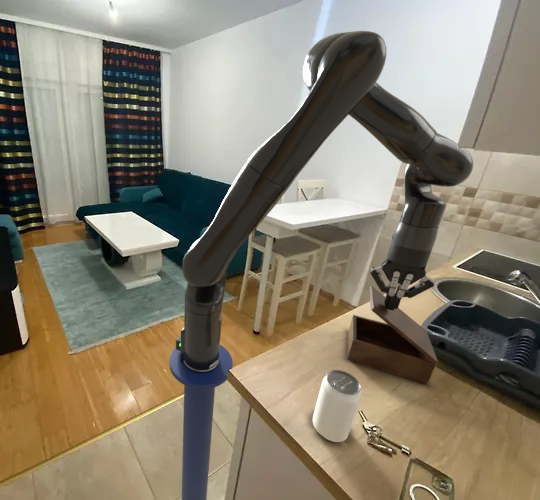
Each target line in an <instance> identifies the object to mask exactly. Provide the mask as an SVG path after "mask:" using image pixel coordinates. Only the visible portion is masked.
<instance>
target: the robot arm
mask: <svg viewBox="0 0 540 500" xmlns="http://www.w3.org/2000/svg"><path fill="white" fill-rule="evenodd" d="M386 60H387V45H386V42H385V39H384V38H383V37H382V36H381V35H380V34H379V33H377V32H375V31H370V30H354V31H345V32H338V33H333V34H330V35H327V36H324V37H323V38H322V39H320V40H318V41H317V42H316V43H315V44H314V45H313V46H311V48H310V49H309V51H308V53H307V55H306V57H305V59H304V62H303V67H302V77H303V81H304V84H305V86H306V88H307V90H309V92H308V94H307V95H306V97H305V99H304V100H303V101H302V103H301V105H300V106H299V108H298V109H297V111H296V112H295V113H294V114H293V115H292V117H291V118H290V119H289V120H288V121H287V122H286V123H285V124H284V125H283V126H281V127H280V128H279V129H278V130H276V132H275V133H273V134H272V135H271V136H270V137H269V138H267V139H266V140H265V141H264V142H262V143H261V144H260V145H259V146H258V147H257V148H256V150H254V151H253V153H252V154H251V155H250V157H248V159H247V161H246V162H245V163H244V165H243V167H242V168H241V169H240V171H239V173H238V175H237V176H236V177H235V179H234V181H233V182H232V184H231V186H230V187H229V189H228V191H227V193H226V195H225V196H224V199H223V200H222V202H221V204H220V207H219V208H218V210H217V212H216V214H215V217H214V219H213V220H212V222H211V223H210V225H209V226H208V227H207V229H206V231H205V232H204V233H203V234H202V235H201V236H200V238H198V239H197V240H195V241H194V242H193V243H192V244H191V245H190V247H189V249H188V250H187V252H186V253H185V254H184V257H183V259H182V263H181V271H182V275H183V277H184V280H185V281H186V282H187V284H186V288H185V293H184V310H183V312H184V313H183V315H184V316H183V318H184V319H183V328H182V329H181V330H180V334H179V336H178V337H177V338H176V339H175V347H176V350H179V351H180V361H182V362H183V363H184V365H185V366H186V367H187V368H188V369H189V370H191V371H193V372H196V373H208V372H211V371H213V370H214V369H216V367H217V366H218V364H219V350H220V345H221V336H222V324H223V323H222V322H223V311H224V300H225V293H226V287H227V275H228V267H229V265H230V263H231V261H232V260H233V258H234V257H235V255H236V253H237V252H238V251H239V249H240V247H241V246H242V245H243V244H244V242H245V241H246V240H247V238H249V236H250V235H251V234H252V233H253V232H254V231H255V230H257V228H258V227H259V226H260V225H261V223H262V222H263V221H264V220H265V218H266V217H267V216H268V215H269V214H270V212H271V211H272V210H273V209H274V208H275V206H276V205H277V204H278V203H279V202H280V200H281V199H282V197H284V195H285V194H286V193H287V191H288V189H290V187H291V186H292V185H293V183H294V182H295V180H296V178H297V177H298V176H299V174H300V173H301V172H302V171H303V170H304V168H305V167H306V166H307V164H308V163H309V162H310V161H311V159H312V158H313V157H314V155H316V154H317V152H318V151H319V149H320V148H321V146H322V145H323V144H324V143H325V141H326V140H327V139H328V138H329V137H330V136H331V134H333V132H335V130H336V129H337V128H338V127H339V126H340V124H342V122H344V120H345V119H346V118H347V117H348V116H350V117H351V118H352V119H353V120H354V121H356V122H357V123H358V124H360V126H362V127H363V128H364V129H365V130H366V131H367V132H368V133H369V134H371V136H373V137H374V138H375V139H376V140H377V142H379V143H380V144H381V145H382V146H383V147H384V148H385V149H386V150H387V151H388V152H389V153H390V154H392V155H393V157H394V158H396V159H397V160H398V161H400V162H401V163H404V164H406V165H405V169H404V204H403V208H402V210H401V214H400V217H399V220H398V223H397V225H396V227H395V228H394V232H393V234H392V236H391V241H390V244H389V248H388V252H387V255H386V257H385V260H384V261H383V262H382V263H381V265H380V266H377V267H374V266H372V267H370V268H369V271H370V276H371V277H372V279H373V280H374V282H375V284H376V285H377V287H378V289H379V290H380V293H385V300H384V304H385V306H386V308H387V309H389V310H393V311H394V309H397V308H399V306H400V304H401V300H402V299H403V298H408V299H412V298H414V297H416V296H418V295H420V294H422V293H424V292H425V291H427V290H430V289H432V288H434V286H435V283H434V281H433V279H432V278H431V277H429V276H427V272H426V267H427V264H428V262H429V259H430V257H431V253H432V251H433V249H434V246H435V243H436V240H437V237H438V233H439V229H440V225H441V222H442V219H443V217H444V214H445V212H446V208H447V202H446V200H445V199H444V198H441V197H439V196H437V195H435V194H434V193H433V189H432V186H438V187H443V188H450V187H456V186H458V185H461V184H462V183H464V182H465V181H466V180H468V179H469V177H470V176H471V175H472V173H473V170H474V159H473V156H472V155H471V153H470V152H469V151H468V150H467V149H466V148H465V149H462V148H457V145H458V144H459V143H457V142H456V141H454V140H452V139H450V138H449V137H447V136H445V135H442V134H440V133H438V132H437V131H436V129H435V128H434V127H433V126H432V125H431V123H429V121H428V120H427V119H426V117H424V115H422V114H421V113H420V112H419V111H417V110H416V109H415V108H414V107H412V106H411V105H410V104H408V103H406V102H405V101H403V100H401V99H400V98H398V97H397V96H395V95H393V94H392V93H391V92H390V91H388V90H386V89H385V88H384V87H383V86H381V85H380V84H379V83H377V81H378V80H379V78H380V76H381V75H382V72H383V70H384V67H385V64H386ZM383 273H384V275H385V277H386V279H387V280H388V285H386V284H385V282H384V280H383V278H382V276H383ZM417 282H418V283H417ZM414 283H416V284H414ZM411 285H412V286H411ZM409 286H410V287H409Z"/></svg>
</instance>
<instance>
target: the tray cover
mask: <svg viewBox="0 0 540 500" xmlns="http://www.w3.org/2000/svg"><path fill="white" fill-rule="evenodd" d="M368 291H369V302H370V311H372V312H373V313H374V314H375V315H376V316H378V317H379V319H381V320H382V321H383V322H384V323H386V324H388V325H389V326H391V327H392V328H393V329H394V330H395V331H397V332H398V333H399V334H400V335H401V336H402V337H404V338H405V339H406V340H407V341H408V342H410V343H411V344H412V345H413V346H414V347H415V348H417V349H418V350H419V351H420V352H421V353H423V354H424V355H425V356H426V357H427V358H428V359H430V360H431V361H432V362H433V363H434V364H436V365H437V364H438V363H439V361H438V358H437V355H436V353H435V350H434V347H433V344H432V341H431V339H430V337H429V336H430V335H429V334H428V331H427V330H426V329H425V328H424V327H422V326H421V325H420V324H419V323H418V322H416V321H415V320H414V319H413V318H411V317H410V316H409V315H408V314H407V313H405V312H404V311H403V310H402V309H400V308H399V307H398V308H397V309H394V311H393V310H389V309H387V308H386V306H385V304H384V300H385V297H386V295H384V294H383V293H382V292H381V291H379V290H378V289H377V288H376V287H374V286H373V285H372V284H371V285H370V286H368Z"/></svg>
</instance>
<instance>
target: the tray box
mask: <svg viewBox="0 0 540 500" xmlns="http://www.w3.org/2000/svg"><path fill="white" fill-rule="evenodd" d="M347 334H348V335H347V360H349V361H352V362H355V363H359V364H361V365H364V366H367V367H371V368H374V369H377V370H380V371H382V372H383V371H384V372H387V373H390V374H393V375H396V376H399V377H402V378H405V379H407V380H408V379H409V380H412V381H415V382H417V383H421V384H424V385H428V383H429V381H430V379H431V377H432V374H433V372H434V370H435V368H436V365H437V363H436V364H434V363H433V362H432V361H431V360H430V359H428V358H427V357H426V356H425V355H424V354H423V353H421V352H420V351H419V350H418V349H417V348H415V347H414V346H413V345H412V344H411V343H410V342H408V341H407V340H406V339H405V338H404V337H402V336H401V335H400V334H399V333H398V332H397V331H395V330H394V329H393V328H392V327H391V326H389V325H388V324H387V323H386V322H384V321H383V322H382V321H378V320H375V319H370V318H367V317H363V316H360V315H355V314H353V315H352V318H351V322H350V325H349V328H348V331H347Z"/></svg>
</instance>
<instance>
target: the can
mask: <svg viewBox="0 0 540 500" xmlns="http://www.w3.org/2000/svg"><path fill="white" fill-rule="evenodd" d="M319 388H320V389H319V392H318V396H317V400H316V403H315V407H314V410H313V415H312V424H313V425H312V426H313V427H314V429H315V430H316V432H317V433H318V434H319V435H320V436H322V438H324V439H325V440H328V441H329V442H333V443H342V442H344V441H346V440H347V439H348V437H349V434H350V431H351V428H352V425H353V423H354V420H355V418H356V414H357V412H358V408H359V406H360V403H361V399H362V391H361V390H362V386H361V383H360V382H359V380H358V379H357V378H356V377H355V376H354V375H353V374H351V373H349V372H347V371H345V370H341V369H331V370H329V371H327V373H326V375H325V376H323V379H322V381H321V385H320V387H319Z"/></svg>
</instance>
